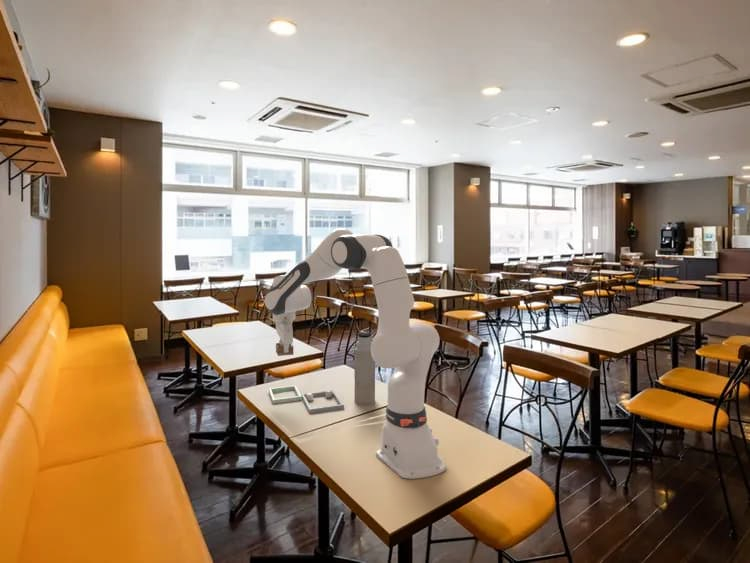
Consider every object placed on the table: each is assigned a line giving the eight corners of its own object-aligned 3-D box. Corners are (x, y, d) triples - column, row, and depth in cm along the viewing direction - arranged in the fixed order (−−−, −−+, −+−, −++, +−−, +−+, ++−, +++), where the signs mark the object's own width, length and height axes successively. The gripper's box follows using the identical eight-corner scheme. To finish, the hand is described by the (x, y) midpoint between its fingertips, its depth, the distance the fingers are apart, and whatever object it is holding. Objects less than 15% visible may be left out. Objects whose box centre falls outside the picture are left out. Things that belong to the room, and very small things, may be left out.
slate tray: (344, 411, 166) (344, 404, 165) (309, 416, 161) (309, 409, 161) (333, 395, 180) (333, 390, 180) (301, 400, 176) (301, 394, 176)
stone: (290, 352, 175) (289, 341, 175) (282, 353, 173) (282, 342, 173) (286, 350, 178) (286, 339, 177) (279, 351, 176) (279, 340, 175)
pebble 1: (314, 401, 173) (314, 394, 172) (306, 402, 172) (306, 395, 171) (312, 399, 176) (312, 391, 175) (305, 400, 175) (305, 392, 174)
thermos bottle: (375, 400, 176) (375, 331, 173) (374, 408, 168) (374, 336, 165) (355, 399, 177) (355, 331, 173) (353, 407, 169) (353, 336, 165)
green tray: (301, 402, 174) (301, 396, 173) (272, 406, 170) (272, 400, 170) (295, 391, 186) (295, 385, 185) (269, 394, 182) (268, 388, 182)
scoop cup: (293, 354, 174) (293, 346, 173) (277, 356, 172) (277, 347, 171) (290, 350, 179) (290, 342, 179) (275, 351, 177) (275, 343, 177)
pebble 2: (333, 399, 176) (333, 391, 175) (326, 400, 175) (326, 392, 174) (331, 396, 178) (331, 389, 178) (324, 397, 177) (324, 390, 177)
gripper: (296, 320, 165) (297, 356, 167) (288, 310, 184) (288, 342, 186) (279, 321, 163) (280, 357, 165) (272, 310, 182) (273, 343, 184)
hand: (284, 349), depth 175 cm, fingers closed on scoop cup, 6 cm apart
